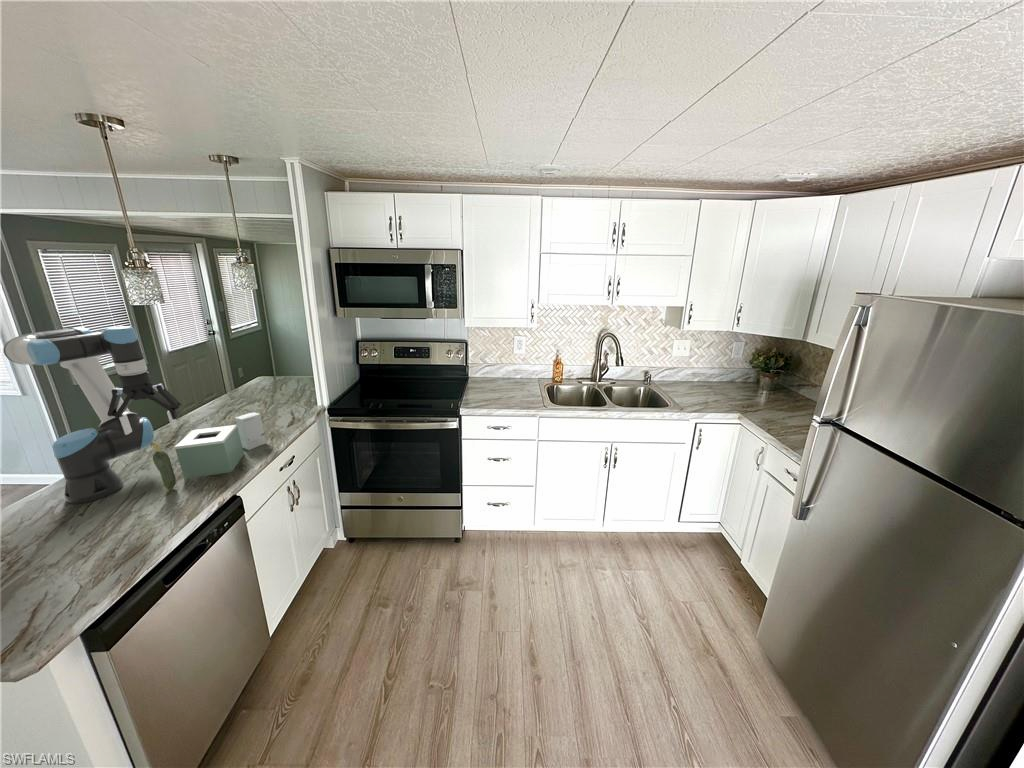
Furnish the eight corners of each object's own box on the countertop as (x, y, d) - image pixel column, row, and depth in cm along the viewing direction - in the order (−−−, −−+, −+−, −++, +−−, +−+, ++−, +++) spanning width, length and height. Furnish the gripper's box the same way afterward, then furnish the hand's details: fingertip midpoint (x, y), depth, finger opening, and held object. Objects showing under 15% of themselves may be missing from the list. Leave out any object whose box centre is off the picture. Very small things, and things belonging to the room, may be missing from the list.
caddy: (184, 478, 156) (174, 446, 152) (201, 459, 171) (192, 430, 167) (231, 472, 161) (222, 440, 156) (244, 453, 175) (236, 424, 171)
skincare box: (248, 450, 178) (241, 420, 174) (241, 447, 181) (233, 417, 176) (267, 443, 185) (260, 413, 180) (260, 440, 188) (253, 411, 183)
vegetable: (182, 486, 151) (166, 439, 145) (173, 493, 147) (157, 444, 141) (170, 487, 151) (154, 439, 145) (161, 494, 147) (144, 444, 140)
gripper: (79, 380, 128) (101, 440, 134) (172, 371, 135) (189, 429, 141) (94, 373, 135) (115, 431, 141) (182, 366, 141) (198, 421, 148)
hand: (152, 430), depth 141 cm, fingers open, 13 cm apart
